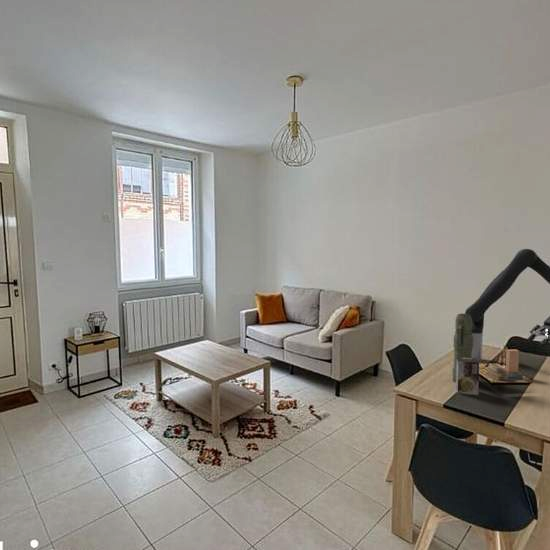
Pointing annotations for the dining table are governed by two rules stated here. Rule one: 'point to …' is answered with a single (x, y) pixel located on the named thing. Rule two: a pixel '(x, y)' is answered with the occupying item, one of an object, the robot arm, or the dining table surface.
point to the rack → (512, 377)
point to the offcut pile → (497, 371)
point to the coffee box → (467, 375)
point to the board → (512, 360)
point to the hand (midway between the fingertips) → (534, 343)
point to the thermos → (462, 339)
